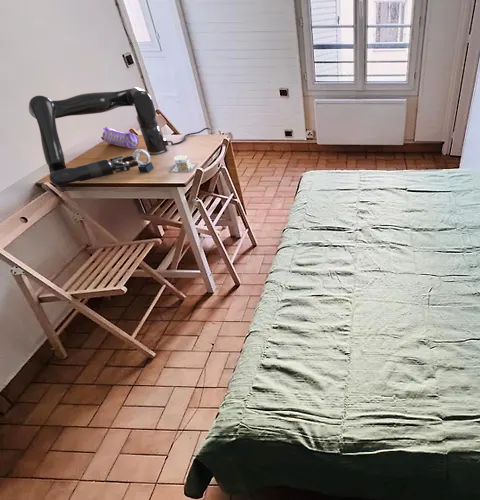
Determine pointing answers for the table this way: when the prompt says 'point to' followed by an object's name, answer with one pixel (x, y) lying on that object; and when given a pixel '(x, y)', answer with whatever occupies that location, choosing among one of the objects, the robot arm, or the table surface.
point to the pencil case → (120, 138)
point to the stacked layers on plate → (182, 164)
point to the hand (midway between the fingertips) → (135, 160)
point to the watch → (143, 166)
